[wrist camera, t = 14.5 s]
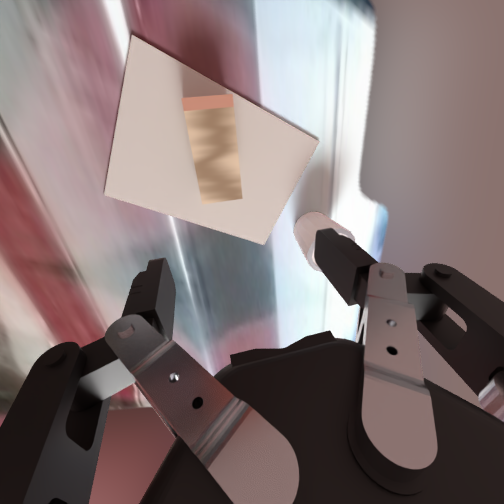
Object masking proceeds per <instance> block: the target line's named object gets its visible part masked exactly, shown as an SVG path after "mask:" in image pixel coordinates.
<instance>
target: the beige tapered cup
mask: <svg viewBox="0 0 504 504" xmlns="http://www.w3.org/2000/svg"><path fill="white" fill-rule="evenodd" d="M326 228H333V229H334V230H335V231H336V232H337V233H338V234H339V235H344V236H346V237H348V238H350V239H352V240H353V241H354V242H355V238H354V236H353V235H352V233H351V232H350V231H349V230H347V229H346V228H344V227H342V226H341V225H339V224H338V223H336V222H335V221H333V220H331V219H330V218H328V217H327V216H325V215H324V214H322V213H319V212H309V213H306V214H304V215H303V216H302V217H300V218H299V219H298V220H297V222H296V224H295V226H294V232H293V233H294V236H295V239H296V241H297V243H298V244H299V246H300V248H301V250H302V252H303V254H304V256H305V258H306V260H307V262H308V264H309V265H310V266H311V267H312V268H313V269H314V270H317V271H321V269H320V268H319V267H318V265H317V264H316V262H315V258H314V249H315V237H316V231H317V230H321V229H326ZM321 272H322V271H321Z"/></svg>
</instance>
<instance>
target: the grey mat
mask: <svg viewBox="0 0 504 504" xmlns="http://www.w3.org/2000/svg"><path fill="white" fill-rule="evenodd" d="M225 94H233V103H234V114H235V124H236V135H237V145H238V156H239V166H240V176H241V187H242V197H243V199H237V200H230V201H223V202H216V203H209V204H202V201H201V195H200V190H199V185H198V180H197V175H196V170H195V165H194V160H193V155H192V150H191V145H190V140H189V135H188V130H187V125H186V119H185V114H184V109H183V104H182V99H181V98H189V97H201V96H213V95H225ZM318 144H319V141H318V140H316V139H314V138H312V137H311V136H309V135H307V134H305V133H304V132H302V131H300V130H298V129H297V128H295V127H293V126H291V125H289V124H288V123H286V122H284V121H282V120H281V119H279V118H277V117H275V116H274V115H272V114H270V113H268V112H267V111H265V110H263V109H261V108H260V107H258V106H256V105H254V104H253V103H251V102H249V101H247V100H246V99H244V98H242V97H240V96H239V95H237V94H235V93H233V92H232V91H230V90H228V89H226V88H225V87H223V86H221V85H219V84H218V83H216V82H214V81H212V80H211V79H209V78H207V77H205V76H204V75H202V74H200V73H198V72H197V71H195V70H193V69H191V68H190V67H188V66H186V65H184V64H183V63H181V62H179V61H177V60H175V59H174V58H172V57H170V56H168V55H167V54H165V53H163V52H161V51H160V50H158V49H156V48H154V47H153V46H151V45H149V44H147V43H146V42H144V41H142V40H140V39H139V38H137V37H135V36H133V35H132V37H131V43H130V48H129V54H128V60H127V65H126V71H125V77H124V83H123V88H122V94H121V100H120V106H119V111H118V117H117V123H116V129H115V134H114V140H113V146H112V152H111V157H110V163H109V169H108V175H107V180H106V186H105V192H104V195H106V196H109V197H112V198H115V199H119V200H122V201H125V202H128V203H131V204H135V205H138V206H141V207H144V208H147V209H151V210H154V211H157V212H160V213H163V214H167V215H170V216H173V217H176V218H179V219H183V220H186V221H189V222H192V223H195V224H199V225H202V226H205V227H208V228H211V229H215V230H218V231H221V232H224V233H227V234H231V235H234V236H237V237H240V238H243V239H247V240H250V241H253V242H256V243H259V244H263V245H264V244H265V242H266V240H267V238H268V237H269V235H270V233H271V231H272V229H273V227H274V225H275V224H276V222H277V220H278V218H279V216H280V214H281V212H282V211H283V209H284V207H285V205H286V203H287V201H288V199H289V198H290V196H291V194H292V192H293V190H294V188H295V186H296V184H297V183H298V181H299V179H300V177H301V175H302V173H303V171H304V170H305V168H306V166H307V164H308V162H309V160H310V158H311V157H312V155H313V153H314V151H315V149H316V147H317V145H318Z"/></svg>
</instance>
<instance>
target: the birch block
mask: <svg viewBox="0 0 504 504" xmlns="http://www.w3.org/2000/svg"><path fill="white" fill-rule="evenodd" d="M181 99H182V104H183V109H184V114H185V119H186V125H187V130H188V135H189V140H190V145H191V150H192V155H193V160H194V165H195V170H196V175H197V180H198V185H199V190H200V195H201V201H202V204H209V203H216V202H223V201H230V200H237V199H243V197H242V187H241V176H240V166H239V156H238V145H237V135H236V124H235V114H234V103H233V94H225V95H213V96H201V97H189V98H181Z"/></svg>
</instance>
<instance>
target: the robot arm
mask: <svg viewBox="0 0 504 504" xmlns="http://www.w3.org/2000/svg"><path fill="white" fill-rule="evenodd" d="M314 258H315V262H316V264H317V265H318V267H319V268H320V269H321V271H322V272H323V273H324V275H325V276H326V277H327V278H328V280H329V281H330V282H331V284H332V285H333V286H334V287H335V289H336V290H337V291H338V293H339V294H340V295H341V297H342V298H343V299H344V300H345V302H346V303H347V304H348V306H350V305H355V304H359V306H360V308H359V314H358V322H357V330H356V339H355V342H354V341H351V340H347V339H341V338H334V336H333V335H332V333H331V331H326V332H322V333H318V334H314V335H309V336H306V337H304V338H302V339H301V340H299V341H297V342H295V343H293V344H291V345H289V346H288V347H286V348H281V349H253V350H249V351H244V352H240V353H236V354H232V355H230V358H231V364H229V365H227V366H226V367H224V368H223V369H221V370H220V371H219V372H218V373H217V374H216V375H215V376H214V377H213V376H212V375H211V374H210V373H209V372H208V371H207V370H205V369H204V368H203V367H202V366H201V365H200V364H199V363H198V362H197V361H196V360H195V359H193V358H192V357H191V356H190V355H189V354H188V353H187V352H186V351H185V350H184V349H183V348H182V347H180V346H179V345H178V344H177V343H176V342H175V341H173V340H172V335H173V322H174V309H175V296H176V289H175V283H174V280H173V277H172V274H171V271H170V268H169V265H168V262H167V260H166V258H159V259H154V260H149V262H148V266H147V270H146V271H143V272H140V273H139V274H138V275H137V276H136V277H135V278H134V279H133V282H132V285H131V289H130V292H129V295H128V298H127V301H126V304H125V307H124V311H123V314H122V317H121V318H120V319H118V320H117V321H115V322H114V323H113V324H112V325H111V326H110V327H109V328H108V329H107V331H106V333H105V337H103V338H101V339H99V340H97V341H95V342H92V343H90V344H88V345H86V346H84V347H82V348H80V347H79V345H78V344H77V343H75V342H65V343H61V344H58V345H56V346H54V347H52V348H51V349H49V350H47V351H46V352H45V353H44V354H42V355H41V356H40V357H39V358H38V359H37V361H36V362H35V363H34V365H33V366H32V368H31V370H30V372H29V374H28V376H27V378H26V380H25V382H24V383H23V385H22V387H21V389H20V391H19V393H18V395H17V397H16V399H15V400H14V402H13V404H12V406H11V408H10V410H9V412H8V414H7V416H6V417H5V419H4V421H3V423H2V425H1V427H0V504H89V499H90V495H91V489H92V485H93V480H94V475H95V471H96V465H97V461H98V456H99V451H100V447H101V442H102V437H103V432H104V428H105V423H106V418H107V413H108V408H109V404H110V399H111V395H113V394H115V393H117V392H119V391H120V390H122V389H124V388H126V387H128V386H129V385H131V384H133V383H135V385H136V386H137V387H138V389H139V390H140V391H141V393H142V394H143V395H144V397H145V398H146V399H147V400H148V402H149V403H150V404H151V406H152V407H153V408H154V410H155V411H156V412H157V413H158V415H159V416H160V418H161V419H162V421H163V422H164V423H165V425H166V426H167V428H168V429H169V430H170V432H171V433H172V434H173V436H174V437H175V438H176V439H175V441H174V443H173V445H172V447H171V449H170V450H169V452H168V454H167V455H166V457H165V459H164V461H163V463H162V464H161V466H160V468H159V470H158V471H157V473H156V475H155V477H154V478H153V480H152V482H151V484H150V485H149V487H148V489H147V491H146V492H145V494H144V496H143V498H142V500H141V501H140V503H139V504H504V302H503V301H501V300H499V299H498V298H497V297H495V296H494V295H492V294H491V293H490V292H488V291H487V290H485V289H484V288H482V287H481V286H479V285H478V284H476V283H475V282H474V281H472V280H471V279H469V278H468V277H466V276H465V275H463V274H462V273H460V272H459V271H458V270H456V269H454V268H452V267H450V266H447V265H443V264H437V263H432V264H427V265H425V266H424V268H423V270H422V273H404V272H403V270H401V269H400V268H399V267H397V266H395V265H392V264H389V263H378V262H377V261H376V260H375V259H374V258H373V257H371V256H370V255H369V254H368V253H367V252H366V251H364V250H363V249H362V248H361V247H360V246H359V245H357V244H356V243H355V242H354V241H353V240H352V239H350V238H348V237H346V236H344V235H339V234H338V233H337V232H336V231H335V230H334V229H333V228H326V229H321V230H317V231H316V237H315V249H314ZM448 307H450V308H451V309H452V310H453V311H454V312H456V313H457V314H458V315H459V316H460V317H461V318H462V319H463V320H464V321H465V323H466V325H467V331H466V332H465V331H464V330H463V329H462V328H461V327H459V326H458V325H457V324H456V323H455V322H454V321H453V320H452V319H451V318H450V317H448V316H447V315H446V314H445V313H446V311H447V309H448ZM417 330H418V331H419V332H420V333H421V334H422V335H423V336H424V337H425V339H426V340H427V341H428V342H429V343H430V344H431V345H432V346H433V347H434V348H435V350H436V351H437V352H438V353H439V354H440V355H441V356H442V357H443V358H444V359H445V361H446V362H447V363H448V364H449V365H450V366H451V367H452V368H453V369H454V370H455V372H456V373H457V374H458V375H459V376H460V377H461V378H462V379H463V380H464V382H465V383H466V384H467V385H468V386H469V387H470V388H471V389H472V390H473V391H474V393H475V394H476V395H477V396H478V397H479V402H480V404H481V406H482V408H483V409H481V408H479V407H477V406H475V405H473V404H472V403H469V402H468V401H466V400H464V399H462V398H460V397H459V396H457V395H455V394H453V393H451V392H449V391H447V390H445V389H443V388H442V387H440V386H438V385H436V384H434V383H432V382H431V381H429V380H427V379H425V378H423V370H422V363H421V355H420V348H419V339H418V331H417Z"/></svg>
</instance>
